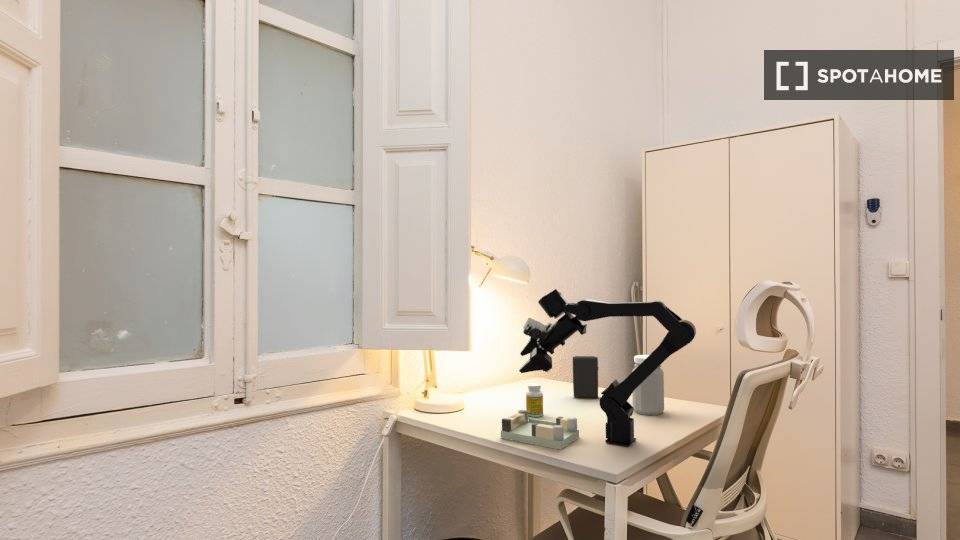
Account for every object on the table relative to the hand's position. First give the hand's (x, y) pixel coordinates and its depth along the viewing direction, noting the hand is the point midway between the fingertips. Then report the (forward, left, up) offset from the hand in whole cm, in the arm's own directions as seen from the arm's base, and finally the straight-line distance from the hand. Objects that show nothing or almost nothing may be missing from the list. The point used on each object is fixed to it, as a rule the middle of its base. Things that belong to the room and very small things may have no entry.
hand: (520, 363), depth 147 cm
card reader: (-1, -47, -19) cm, 51 cm away
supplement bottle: (+4, -16, -19) cm, 25 cm away
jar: (-26, -38, -19) cm, 50 cm away
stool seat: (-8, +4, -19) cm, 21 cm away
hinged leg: (-1, +4, -17) cm, 18 cm away
